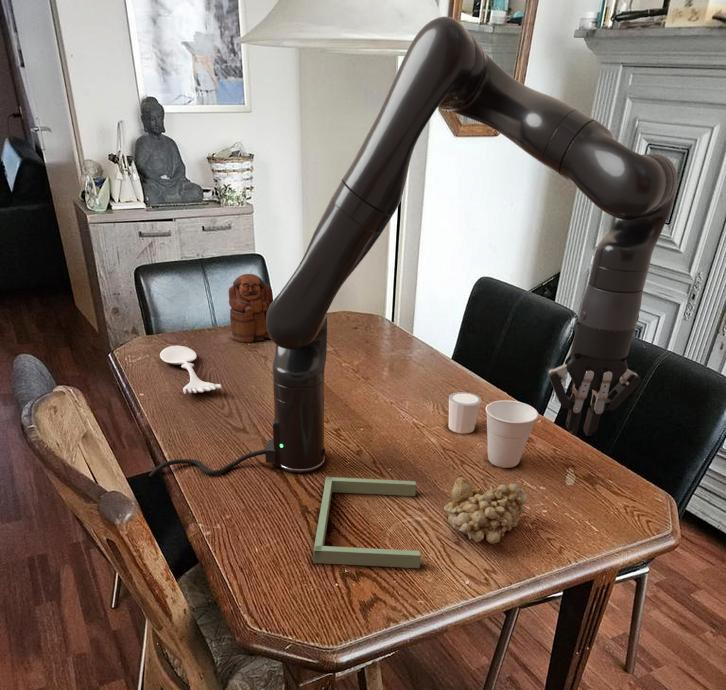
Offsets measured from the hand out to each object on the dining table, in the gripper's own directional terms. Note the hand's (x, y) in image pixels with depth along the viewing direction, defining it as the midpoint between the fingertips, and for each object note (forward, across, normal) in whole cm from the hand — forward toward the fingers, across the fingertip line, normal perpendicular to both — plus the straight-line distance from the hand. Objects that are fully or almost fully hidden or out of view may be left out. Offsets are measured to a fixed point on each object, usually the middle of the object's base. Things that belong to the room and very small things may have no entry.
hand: (579, 432), depth 95 cm
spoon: (+19, +78, -59) cm, 100 cm away
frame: (+19, +30, 0) cm, 36 cm away
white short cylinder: (+19, +12, -38) cm, 44 cm away
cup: (+19, +5, -24) cm, 31 cm away
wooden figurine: (+19, +67, -89) cm, 113 cm away
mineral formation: (+19, +13, 0) cm, 23 cm away
